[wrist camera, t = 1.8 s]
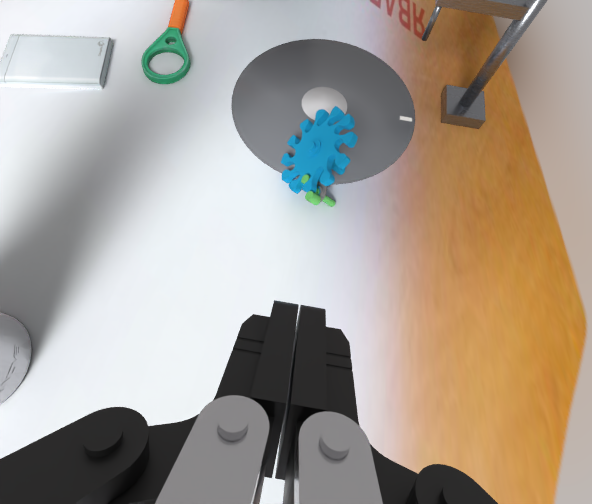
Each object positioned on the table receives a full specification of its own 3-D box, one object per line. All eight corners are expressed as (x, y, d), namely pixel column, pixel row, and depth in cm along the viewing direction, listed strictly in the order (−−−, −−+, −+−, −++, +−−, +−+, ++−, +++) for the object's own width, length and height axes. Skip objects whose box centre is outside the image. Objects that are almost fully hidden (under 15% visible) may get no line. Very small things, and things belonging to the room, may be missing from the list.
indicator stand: (392, 113, 44) (489, -102, 24) (394, 85, 45) (486, -137, 26) (482, 129, 44) (652, -73, 24) (481, 100, 45) (638, -110, 26)
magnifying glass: (185, 88, 44) (182, 77, 42) (139, 84, 43) (134, 73, 42) (204, 10, 49) (202, -2, 47) (163, 6, 49) (159, -6, 47)
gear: (285, 119, 40) (356, 88, 33) (316, 144, 44) (384, 121, 37) (268, 204, 37) (340, 190, 31) (302, 222, 42) (373, 213, 35)
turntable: (212, 169, 40) (210, 164, 39) (253, 33, 49) (253, 26, 48) (408, 203, 40) (411, 199, 39) (415, 61, 49) (417, 55, 48)
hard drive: (109, 35, 44) (10, 31, 43) (99, 82, 41) (-9, 79, 40) (115, 47, 46) (19, 43, 45) (105, 93, 43) (1, 90, 42)
